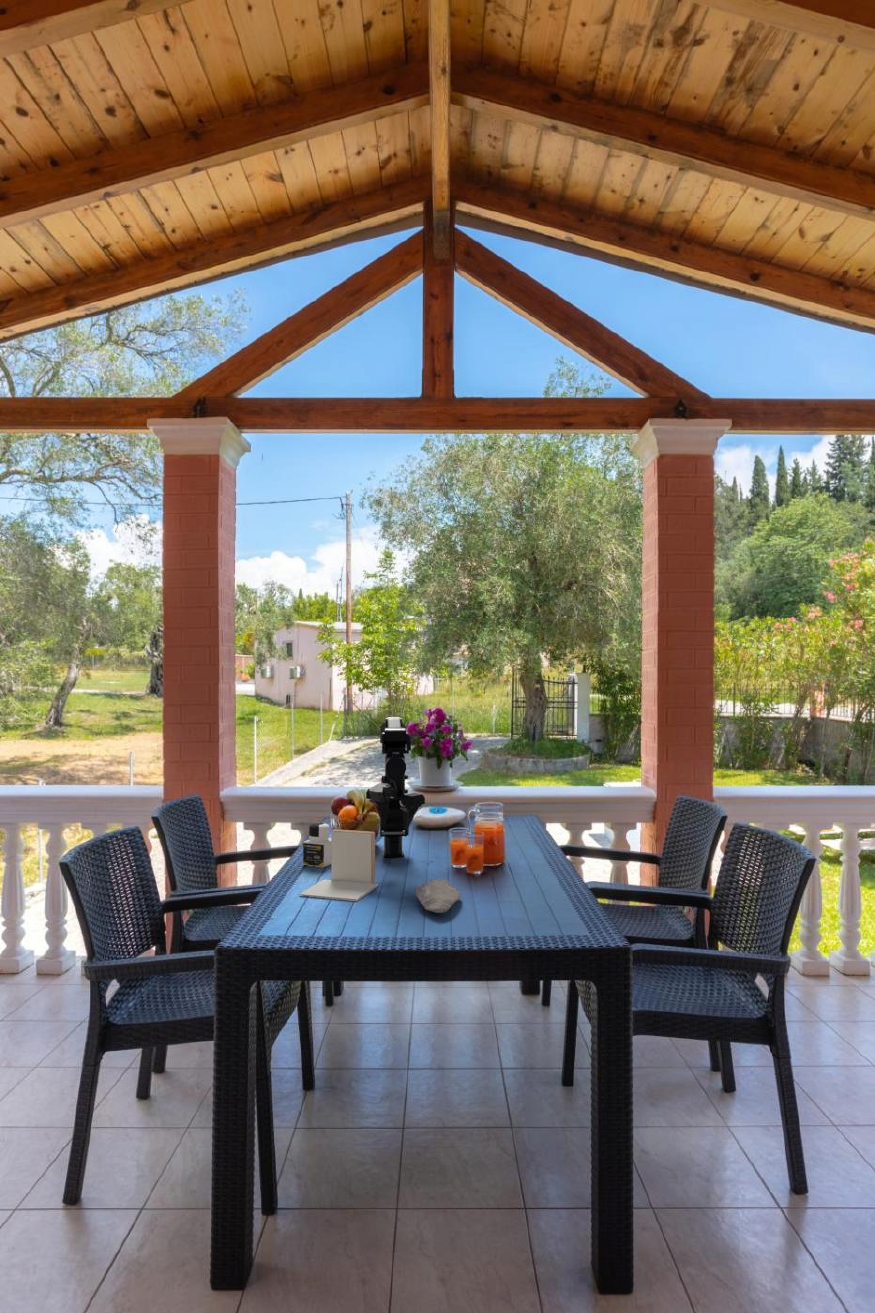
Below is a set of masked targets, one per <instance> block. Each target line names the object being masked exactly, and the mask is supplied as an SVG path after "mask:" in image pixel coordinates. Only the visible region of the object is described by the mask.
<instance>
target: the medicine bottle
mask: <svg viewBox="0 0 875 1313" xmlns="http://www.w3.org/2000/svg"><path fill="white" fill-rule="evenodd" d="M308 835H309V836H308V837H309V839H308V840H304V841H303V843H302V844H303V846H302V854H303V856H302V860H303V861H302V865H303V866H304V865H308V866H307V867H313V866H315V867H314V868H325V867H327V866H330V865H331V838H330V825H329V824H327V823H325V822H315V823H312V824H310V825H309V827H308Z"/></svg>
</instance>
